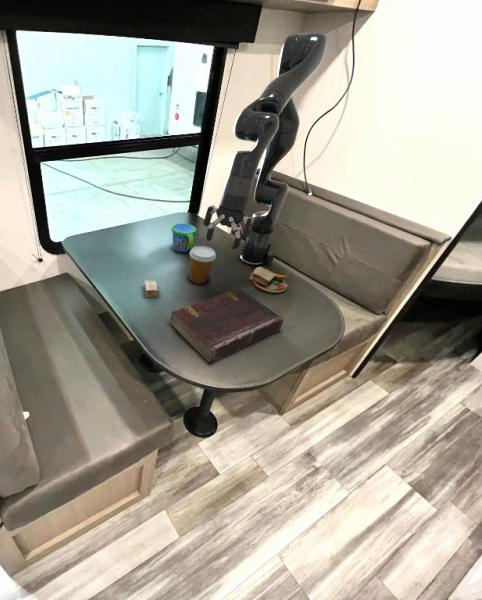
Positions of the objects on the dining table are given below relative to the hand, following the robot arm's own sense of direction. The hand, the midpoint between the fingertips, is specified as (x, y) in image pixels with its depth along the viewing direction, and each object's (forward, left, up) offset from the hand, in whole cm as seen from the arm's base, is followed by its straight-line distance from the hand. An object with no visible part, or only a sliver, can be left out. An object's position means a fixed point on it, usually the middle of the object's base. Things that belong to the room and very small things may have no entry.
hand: (221, 244), depth 99 cm
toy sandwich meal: (-25, -9, -22) cm, 35 cm away
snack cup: (+3, -38, -22) cm, 44 cm away
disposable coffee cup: (+1, -13, -22) cm, 25 cm away
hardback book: (-1, +15, -22) cm, 27 cm away
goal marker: (+20, -4, -22) cm, 30 cm away
